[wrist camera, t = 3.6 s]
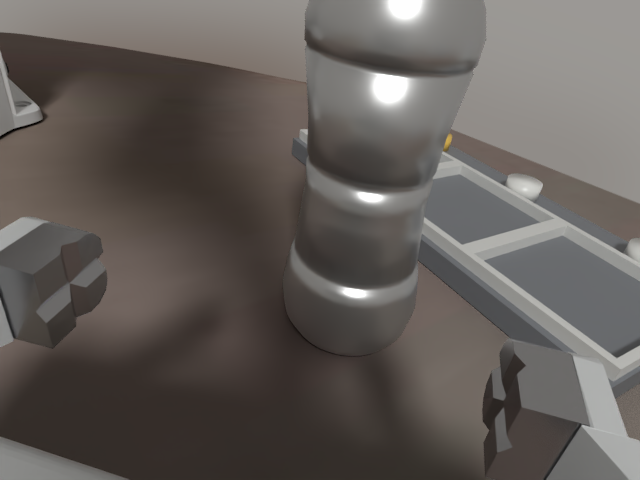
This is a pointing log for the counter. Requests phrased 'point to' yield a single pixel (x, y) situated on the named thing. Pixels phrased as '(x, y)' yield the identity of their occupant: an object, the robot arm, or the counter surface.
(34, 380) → the counter surface
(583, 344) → the board
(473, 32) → the plastic bottle
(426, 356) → the counter surface
